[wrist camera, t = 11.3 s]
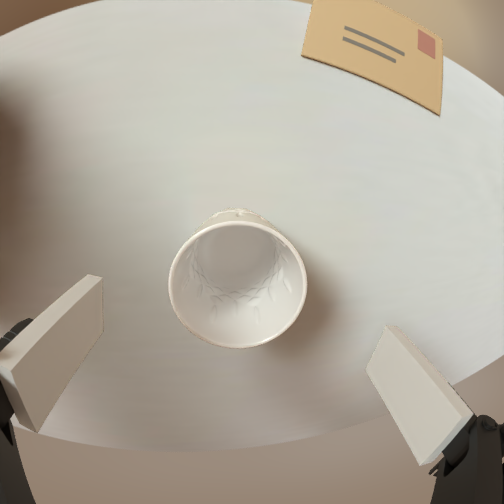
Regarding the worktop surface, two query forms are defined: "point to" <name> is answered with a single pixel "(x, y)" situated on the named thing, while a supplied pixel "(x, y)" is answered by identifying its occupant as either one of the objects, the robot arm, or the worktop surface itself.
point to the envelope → (377, 47)
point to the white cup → (237, 281)
